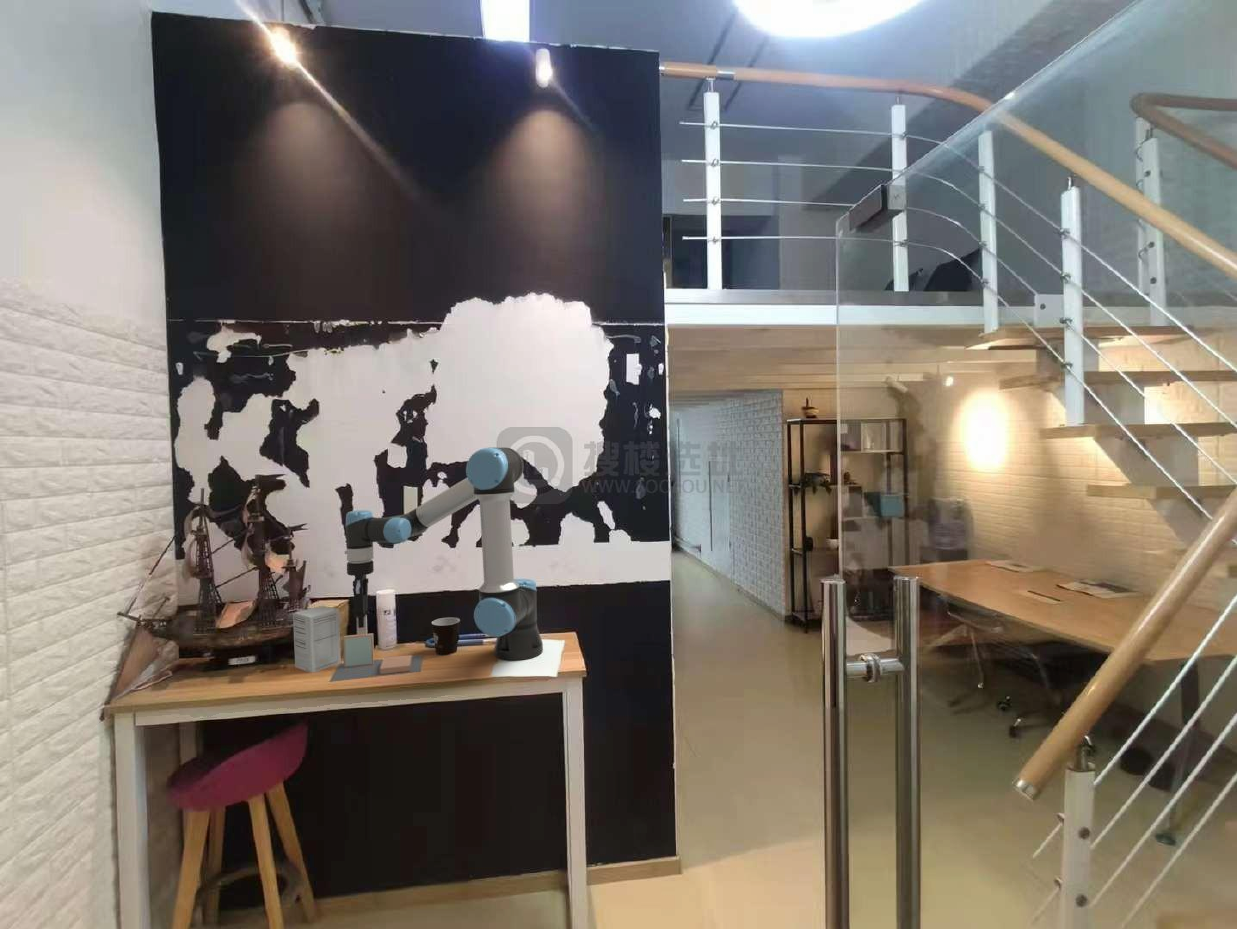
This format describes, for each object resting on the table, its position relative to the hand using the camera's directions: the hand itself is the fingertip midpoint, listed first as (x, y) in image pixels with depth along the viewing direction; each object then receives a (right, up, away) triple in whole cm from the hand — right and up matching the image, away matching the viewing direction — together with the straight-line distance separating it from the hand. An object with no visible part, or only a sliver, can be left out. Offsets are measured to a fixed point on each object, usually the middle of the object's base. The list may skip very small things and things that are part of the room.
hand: (362, 636), depth 181 cm
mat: (+9, -7, -8) cm, 14 cm away
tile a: (+13, -6, -4) cm, 14 cm away
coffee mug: (+25, -7, +3) cm, 26 cm away
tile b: (+2, -7, -6) cm, 9 cm away
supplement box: (-11, -7, -6) cm, 14 cm away
